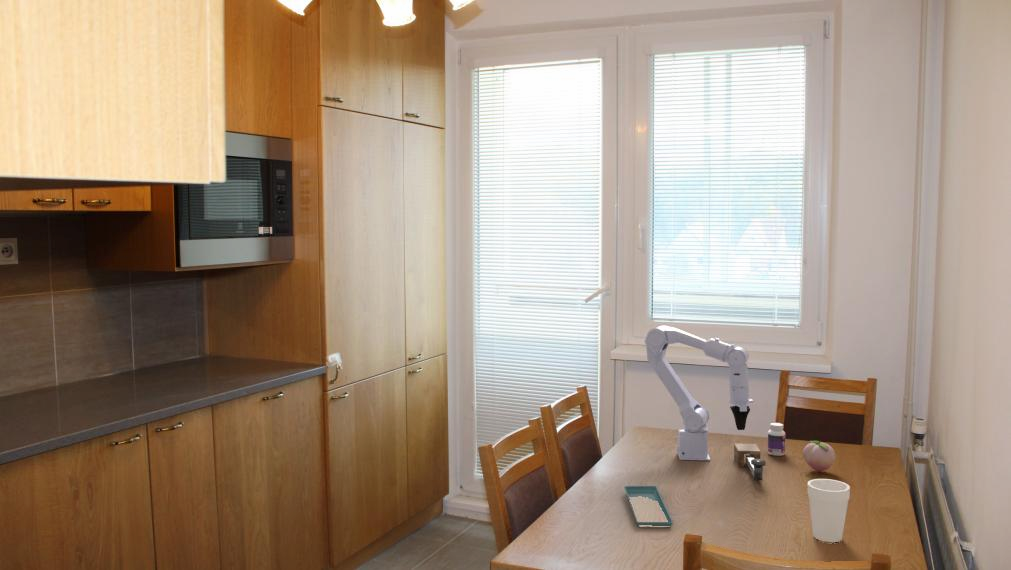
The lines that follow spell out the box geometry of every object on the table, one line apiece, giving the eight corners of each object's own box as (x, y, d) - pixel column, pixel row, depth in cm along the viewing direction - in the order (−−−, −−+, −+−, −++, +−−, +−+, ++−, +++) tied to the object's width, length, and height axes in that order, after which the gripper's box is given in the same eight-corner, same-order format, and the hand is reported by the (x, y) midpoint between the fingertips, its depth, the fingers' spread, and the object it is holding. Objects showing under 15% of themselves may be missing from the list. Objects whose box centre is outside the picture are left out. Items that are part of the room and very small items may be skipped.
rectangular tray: (673, 530, 202) (673, 520, 201) (636, 530, 202) (636, 520, 202) (656, 494, 228) (656, 485, 227) (623, 494, 228) (623, 485, 228)
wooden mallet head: (738, 466, 250) (738, 450, 250) (734, 458, 258) (734, 443, 258) (760, 467, 249) (760, 451, 249) (755, 459, 257) (755, 444, 257)
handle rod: (752, 481, 233) (752, 462, 233) (742, 463, 250) (742, 445, 250) (766, 481, 233) (766, 463, 232) (755, 463, 250) (755, 445, 250)
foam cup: (799, 531, 199) (800, 479, 198) (836, 529, 199) (837, 477, 198) (817, 547, 189) (819, 492, 188) (856, 545, 190) (857, 490, 189)
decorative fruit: (841, 474, 242) (842, 441, 241) (820, 478, 239) (820, 444, 238) (818, 465, 250) (819, 433, 249) (797, 469, 247) (798, 436, 246)
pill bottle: (786, 456, 260) (786, 426, 259) (768, 455, 261) (768, 426, 260) (783, 451, 265) (784, 422, 265) (766, 451, 266) (767, 421, 266)
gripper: (756, 390, 245) (758, 434, 246) (748, 381, 260) (750, 423, 260) (732, 391, 246) (734, 435, 247) (725, 382, 261) (727, 424, 261)
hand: (740, 429), depth 254 cm, fingers closed
